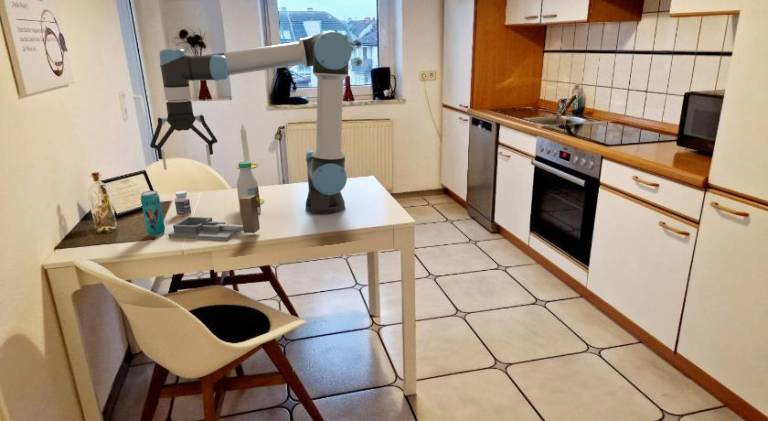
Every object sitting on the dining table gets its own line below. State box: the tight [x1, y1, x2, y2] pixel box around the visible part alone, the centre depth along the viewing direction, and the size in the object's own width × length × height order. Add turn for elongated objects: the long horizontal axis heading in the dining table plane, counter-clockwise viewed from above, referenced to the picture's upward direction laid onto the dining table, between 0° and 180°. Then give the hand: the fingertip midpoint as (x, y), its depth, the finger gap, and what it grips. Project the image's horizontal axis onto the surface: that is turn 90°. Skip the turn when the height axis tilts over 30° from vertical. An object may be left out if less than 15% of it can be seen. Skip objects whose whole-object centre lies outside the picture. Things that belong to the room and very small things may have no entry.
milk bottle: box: [236, 161, 262, 215], centre depth 189 cm, size 8×8×20 cm
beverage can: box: [140, 190, 166, 238], centre depth 171 cm, size 6×6×15 cm
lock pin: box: [215, 195, 261, 234], centre depth 169 cm, size 15×4×12 cm, turn 78°
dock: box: [167, 216, 242, 241], centre depth 173 cm, size 22×12×4 cm, turn 78°
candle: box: [236, 123, 265, 205], centre depth 200 cm, size 10×10×32 cm
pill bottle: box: [174, 190, 192, 217], centre depth 193 cm, size 5×5×9 cm
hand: (187, 166), depth 164 cm, fingers open, 13 cm apart
